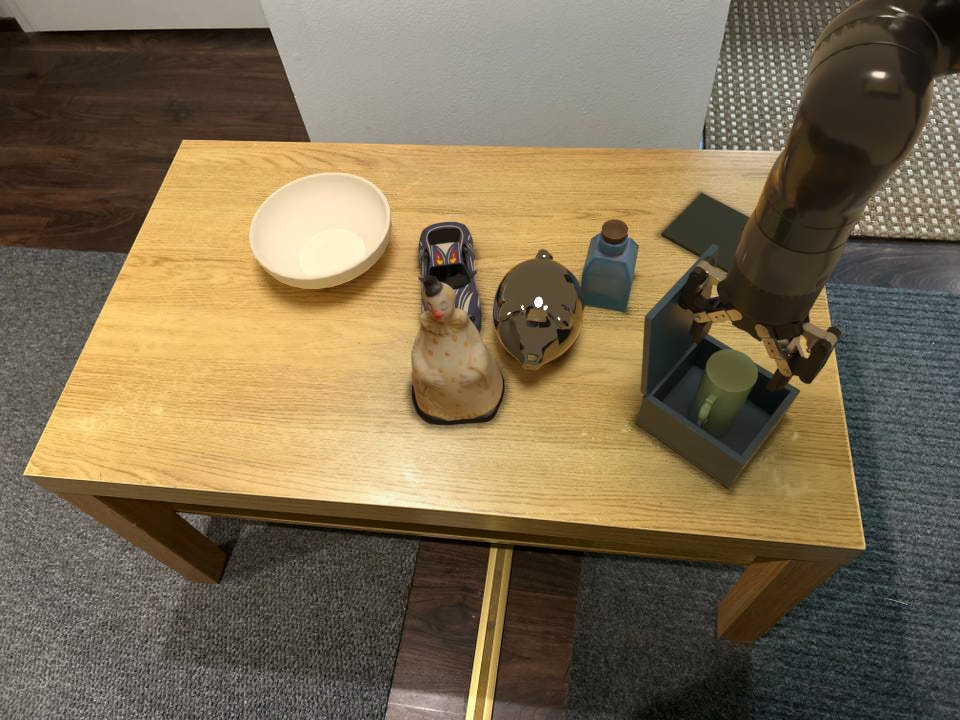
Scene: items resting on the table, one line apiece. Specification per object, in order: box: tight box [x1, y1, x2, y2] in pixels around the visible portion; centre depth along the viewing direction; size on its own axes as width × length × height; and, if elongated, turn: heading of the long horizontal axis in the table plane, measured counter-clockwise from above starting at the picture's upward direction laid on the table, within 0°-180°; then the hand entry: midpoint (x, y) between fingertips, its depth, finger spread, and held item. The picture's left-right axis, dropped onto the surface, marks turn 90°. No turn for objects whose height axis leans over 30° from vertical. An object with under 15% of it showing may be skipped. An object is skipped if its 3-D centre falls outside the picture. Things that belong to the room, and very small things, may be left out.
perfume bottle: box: [580, 218, 640, 313], centre depth 88 cm, size 6×6×12 cm
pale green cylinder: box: [687, 349, 758, 438], centre depth 76 cm, size 5×7×11 cm
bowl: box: [248, 171, 393, 290], centre depth 97 cm, size 20×20×7 cm
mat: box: [660, 192, 750, 274], centre depth 96 cm, size 12×10×1 cm
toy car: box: [418, 221, 482, 333], centre depth 93 cm, size 8×18×5 cm, turn 5°
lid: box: [640, 244, 719, 396], centre depth 73 cm, size 13×12×1 cm
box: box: [635, 333, 801, 489], centre depth 79 cm, size 13×12×7 cm
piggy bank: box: [492, 248, 585, 371], centre depth 85 cm, size 11×15×12 cm
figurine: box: [410, 275, 506, 426], centre depth 78 cm, size 12×10×20 cm
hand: (735, 360), depth 70 cm, fingers open, 8 cm apart
